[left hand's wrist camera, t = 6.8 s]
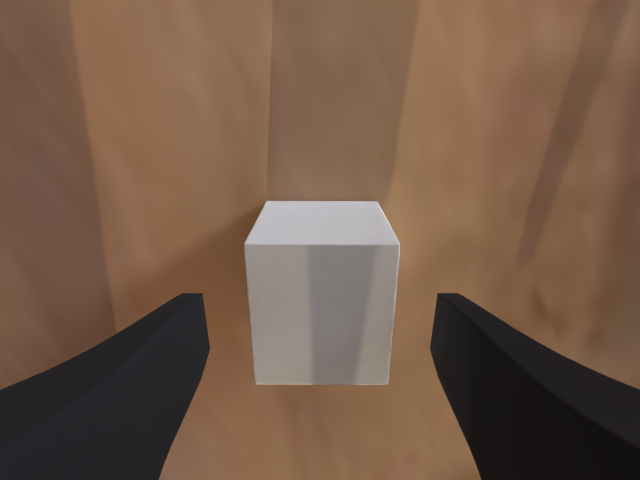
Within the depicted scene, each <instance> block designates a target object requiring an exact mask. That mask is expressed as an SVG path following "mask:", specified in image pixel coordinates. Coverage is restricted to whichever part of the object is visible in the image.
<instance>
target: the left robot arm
mask: <svg viewBox="0 0 640 480" xmlns="http://www.w3.org/2000/svg"><path fill="white" fill-rule="evenodd" d="M209 350H210V346H209V338H208V331H207V324H206V316H205V309H204V302H203V295H202V293H182V294H180V295H178V296H177V297H175V298H173V299H171V300H170V301H168V302H167V303H165V304H163V305H162V306H160V307H159V308H157V309H156V310H154V311H153V312H151V313H149V314H148V315H146V316H145V317H143V318H142V319H140V320H139V321H137V322H135V323H134V324H132V325H131V326H129V327H127V328H126V329H124V330H122V331H121V332H119V333H117V334H115V335H114V336H112V337H110V338H109V339H107V340H105V341H104V342H102V343H100V344H98V345H97V346H95V347H93V348H91V349H89V350H88V351H86V352H84V353H82V354H80V355H78V356H76V357H74V358H72V359H70V360H68V361H66V362H64V363H62V364H60V365H58V366H55V367H53V368H51V369H49V370H47V371H44V372H42V373H40V374H37V375H35V376H33V377H30V378H28V379H26V380H23V381H21V382H18V383H16V384H14V385H11V386H9V387H7V388H4V389H2V390H0V480H159V477H160V474H161V471H162V468H163V465H164V462H165V460H166V457H167V455H168V452H169V450H170V447H171V445H172V443H173V441H174V438H175V436H176V434H177V432H178V430H179V427H180V425H181V423H182V421H183V418H184V416H185V414H186V412H187V410H188V407H189V405H190V403H191V401H192V398H193V396H194V394H195V391H196V389H197V387H198V385H199V382H200V380H201V377H202V374H203V371H204V368H205V364H206V361H207V357H208V353H209ZM430 350H431V353H432V357H433V361H434V364H435V368H436V371H437V374H438V377H439V380H440V382H441V385H442V387H443V389H444V391H445V394H446V396H447V398H448V401H449V403H450V405H451V407H452V410H453V412H454V414H455V416H456V418H457V421H458V423H459V425H460V427H461V430H462V432H463V434H464V436H465V438H466V441H467V443H468V445H469V447H470V450H471V452H472V455H473V457H474V460H475V462H476V465H477V468H478V471H479V474H480V477H481V480H640V390H639V389H636V388H634V387H631V386H629V385H627V384H624V383H622V382H619V381H617V380H614V379H612V378H609V377H607V376H605V375H603V374H600V373H598V372H596V371H594V370H591V369H589V368H587V367H585V366H583V365H581V364H579V363H577V362H575V361H573V360H571V359H569V358H566V357H564V356H562V355H560V354H559V353H557V352H555V351H553V350H551V349H549V348H547V347H545V346H544V345H542V344H540V343H538V342H537V341H535V340H533V339H531V338H530V337H528V336H526V335H524V334H523V333H521V332H519V331H518V330H516V329H514V328H513V327H511V326H510V325H508V324H506V323H505V322H503V321H502V320H500V319H498V318H497V317H495V316H494V315H492V314H491V313H489V312H488V311H486V310H485V309H483V308H481V307H480V306H478V305H477V304H475V303H474V302H472V301H470V300H469V299H467V298H465V297H464V296H462V295H460V294H458V293H438V295H437V302H436V309H435V316H434V324H433V331H432V338H431V346H430Z"/></svg>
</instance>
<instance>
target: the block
mask: <svg viewBox="0 0 640 480" xmlns="http://www.w3.org/2000/svg"><path fill="white" fill-rule="evenodd" d="M244 254H245V266H246V278H247V291H248V303H249V315H250V327H251V340H252V352H253V364H254V376H255V384H307V385H387V384H388V379H389V368H390V357H391V345H392V334H393V323H394V312H395V301H396V289H397V278H398V267H399V256H400V243H399V241H398V239H397V237H396V235H395V233H394V232H393V230H392V228H391V226H390V224H389V222H388V220H387V219H386V217H385V215H384V213H383V211H382V209H381V207H380V206H379V204H378V202H377V201H266V203H265V205H264V207H263V209H262V211H261V213H260V214H259V216H258V218H257V220H256V222H255V224H254V226H253V228H252V230H251V231H250V233H249V235H248V237H247V239H246V241H245V243H244Z"/></svg>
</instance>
